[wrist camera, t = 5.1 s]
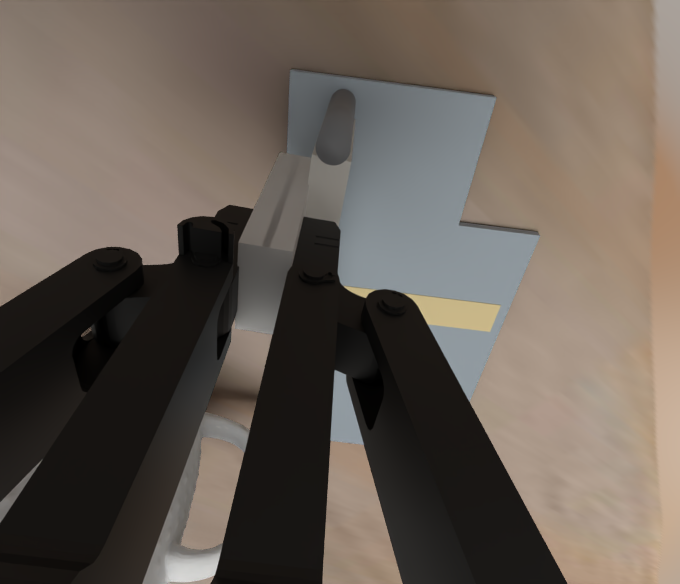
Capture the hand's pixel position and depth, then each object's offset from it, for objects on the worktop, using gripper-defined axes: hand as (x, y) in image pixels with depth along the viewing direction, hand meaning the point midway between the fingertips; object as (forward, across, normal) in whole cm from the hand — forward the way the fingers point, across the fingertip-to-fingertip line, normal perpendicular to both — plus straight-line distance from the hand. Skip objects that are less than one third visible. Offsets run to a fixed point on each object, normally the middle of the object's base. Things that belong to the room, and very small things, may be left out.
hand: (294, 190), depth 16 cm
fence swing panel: (+3, +1, -1) cm, 3 cm away
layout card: (+3, +6, -7) cm, 10 cm away
